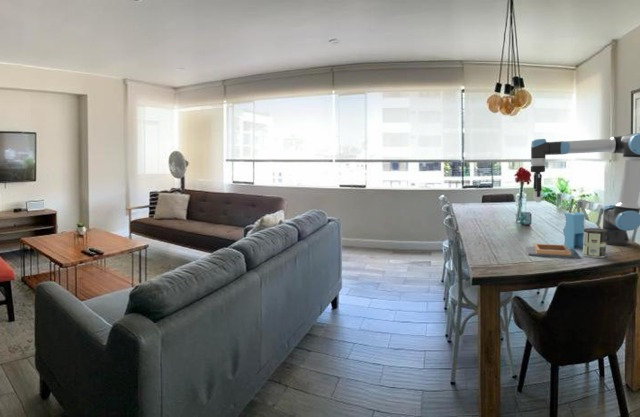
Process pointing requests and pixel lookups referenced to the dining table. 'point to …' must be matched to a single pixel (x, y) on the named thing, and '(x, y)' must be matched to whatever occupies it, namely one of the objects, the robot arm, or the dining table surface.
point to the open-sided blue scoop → (574, 230)
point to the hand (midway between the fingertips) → (536, 201)
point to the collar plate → (552, 251)
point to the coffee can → (594, 242)
